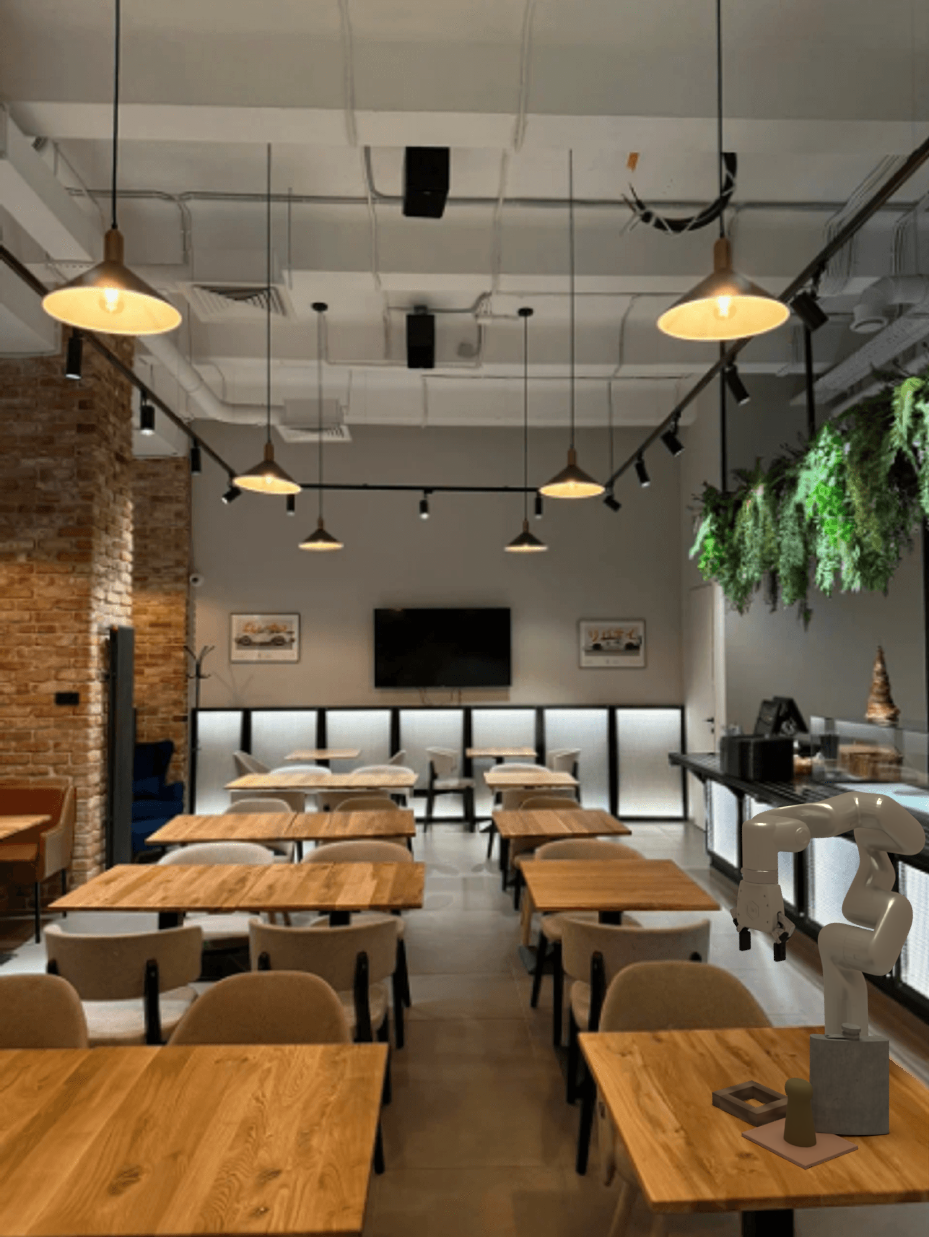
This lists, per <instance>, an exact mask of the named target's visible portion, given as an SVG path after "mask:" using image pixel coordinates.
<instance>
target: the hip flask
mask: <svg viewBox="0 0 929 1237" xmlns="http://www.w3.org/2000/svg"><path fill="white" fill-rule="evenodd" d="M841 1029H842V1030H844V1031H842V1034H825V1033H824V1034H820V1033H811V1034H809V1081H808V1082H809V1083H810V1084H811V1085H812V1088H813V1097H812V1099H811V1100H810V1101H811V1108H812V1115H813V1121H814V1128H815V1132H820V1133H830V1134H835V1135H847V1136H848V1135H849V1136H850V1135H854V1136H860V1135H861V1136H865V1135H866V1136H871V1135H872V1136H873V1135H887V1134H889V1133H890V1039H889V1037H885V1036H882V1035H875V1034H874V1035H869V1036H860V1034H859V1033H860V1032H861V1027H860V1026H858V1025H855V1024H850V1023H843V1024H842V1025H841Z"/></svg>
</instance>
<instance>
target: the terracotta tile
mask: <svg viewBox="0 0 929 1237" xmlns="http://www.w3.org/2000/svg"><path fill="white" fill-rule="evenodd" d="M785 1119H786V1118H783V1119H780V1120H777V1121H774V1122H771V1123H768V1124H765V1125H762V1126H759V1127H754V1128H752V1129H751V1128H750V1129H748V1130H745V1131H743V1132H741V1137H743V1138H745V1139H747V1140H748V1141H750V1142H753V1143H755V1144H756V1145H758V1146H760V1147H762V1148H764V1149H766V1150H768V1151H770V1152H772V1153H774V1154H776V1155H777V1156H779V1157H781V1158H782V1159H785V1160H787V1161H789V1162H791V1163H793V1164H794V1165H796V1166H798V1167H800V1168H802V1169H804V1170H807V1168H808V1169H810V1168H812V1167H811V1166H813V1167H816V1166H818V1165H820V1164H823V1163H825V1162H824V1161H826V1162H828V1161H831V1160H833V1159H835V1157H836V1158H838V1157H837V1156H839V1157H841V1156H844V1155H847V1154H849V1153H852V1152H854V1151H856V1150H858V1149H859V1145H858V1144H855V1143H854V1142H851V1141H850V1140H847V1139H846V1138H843V1137H841V1136H839V1135H838V1134H830V1133H820V1132H815V1134H816V1141H817V1143H816V1145H815V1146H812V1147H798V1146H794V1145H791V1144H789V1143H787V1142H786V1141H785V1140H784V1138H783V1137H784V1128H785ZM830 1159H831V1160H830ZM827 1160H828V1161H827ZM822 1162H823V1163H822ZM819 1163H820V1164H819ZM817 1164H818V1165H817ZM809 1167H810V1168H809Z"/></svg>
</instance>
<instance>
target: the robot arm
mask: <svg viewBox="0 0 929 1237" xmlns="http://www.w3.org/2000/svg"><path fill="white" fill-rule="evenodd" d="M741 826H742V828H741V829H742V830H741V831H742V832H741V834H742V835H741V837H742V838H741V839H742V840H741V842H742V843H741V844H742V867H741V869H740V873H741V874H742V879H741V880H740V881H739V886H738V892H737V899H736V900H737V901H736V902H737V903H736V906H735V907H733V908H730V910H729V913H730V915H731V918H732V922H733V924H734V926H735V930H736V932H737V933H738V950H739V951H740V952H745V951H750V950H752V933H751V931H750V929H751V930H754V931H757V932H762V933H767V934H768V933H770V934H771V936H772V938H773V939H774V941H775V942H773V948H772V950H773V951H772V952H773V961H774V962H775V963H780V962H784V961H786V960H787V951H786V950H787V949H786V948H787V943H788V942H789V940H790V938H791V937H792V936H793V933H794V931H795V928H796V925H795V923H793V921H791V920H790V919H789V918H788V917H787V916H785V905H784V898H783V892H782V888H781V884H779V852H780V853H798V852H802V851H804V850H805V849H807V847H808V846H809V844H810V843H811V839H827V838H832V837H834V838H835V837H836V836H839V835H841V834H844V833H847V832H849V831H853V835H854V839H855V843H856V847H857V851H858V856H859V858H858V859H859V862H858V863H859V864H858V868H857V870H856V873H855V875H854V877H853V879H852V881H851V884H850V886H849V888H848V890H847V892H846V894H845V896H844V897H843V898H844V899H843V901H842V905H841V913H842V917H844V918H845V920H846V921H848V922H850V923H851V924H854V925H851V924H847V923H843V922H830V923H826V925H824V926H823V927H822V928H821V929H820V931H819V933H818V935H817V936H818V937H817V944H818V945H817V947H818V952H819V956H820V961H821V967H822V974H823V975H822V976H823V978H822V979H823V1007H824V1008H823V1009H824V1010H823V1011H824V1012H823V1015H824V1034H842V1031H844V1030H842V1029H841V1025H842V1024H843V1023H850V1024H855V1025H858V1026H860V1027H861V1032H860V1033H859V1034H860V1036H870V1035H869V1010H868V1008H869V1006H868V1005H869V1004H868V1003H869V1002H868V1001H869V1000H868V985H867V981H866V980H865V975H864V974H863V973H865V974H869V975H873V976H884V975H887V974H889V973H890V972H891V971H892V970H893V968H894V967H895V965H896V962H897V961H898V958H899V956H900V954H901V951H902V949H903V947H904V944H905V942H906V940H907V938H908V936H909V933H910V932H911V928H912V925H913V919H914V909H913V906H912V902H911V901H910V900H909V899H908V898H907V897H906V896H905V895H903V894H901V893H899V892H897V891H892V889H893V887H894V885H895V881H896V871H895V868H894V865H893V864H892V862H891V859H890V857H889V855H888V853H891V854H892V853H893V854H899V855H904V856H914V855H917V854H919V853H920V852H921V851H922V850H924V847H925V845H926V833H925V830H924V828H923V826H922V824H921V823H920V822H919V820H917V818H915V817H914V815H912V814H911V813H910V812H909V811H908V809H905V807H903V806H902V805H901V804H900V803H899V802H898V801H896V800H895V799H894V798H892V797H890V796H889V795H886V794H883V793H874V792H864V791H848V792H843V793H841V794H838V795H835V796H832V797H828V798H826V799H821V800H819V801H816V802H805V803H801V804H793V805H788V806H787V805H785V806H780V807H775V808H772V809H768V810H765V811H762V812H759V813H756V815H754V816H753V817H752V818H751V819H746V820H745V821H744V822H743V823H742V825H741ZM862 927H863V928H862ZM867 928H868V929H867Z"/></svg>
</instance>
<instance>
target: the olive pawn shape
mask: <svg viewBox="0 0 929 1237" xmlns="http://www.w3.org/2000/svg"><path fill="white" fill-rule="evenodd" d="M784 1083H785V1085H784V1092H785V1095H786V1096H787V1097H788V1101H787V1110H786V1119H785V1128H784V1137H783V1138H784V1140H785V1141H786V1142H787V1143H789V1144H791V1145H794V1146H798V1147H812V1146H815V1145H816V1143H817V1141H816V1134H815V1128H814V1121H813V1115H812V1108H811V1101H810V1100H811V1099H812V1097H813V1088H812V1085H811V1084H810V1083H809V1081H808V1080H806V1079H804V1078H800V1077H792V1078H789V1079H786V1081H785V1082H784Z"/></svg>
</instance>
